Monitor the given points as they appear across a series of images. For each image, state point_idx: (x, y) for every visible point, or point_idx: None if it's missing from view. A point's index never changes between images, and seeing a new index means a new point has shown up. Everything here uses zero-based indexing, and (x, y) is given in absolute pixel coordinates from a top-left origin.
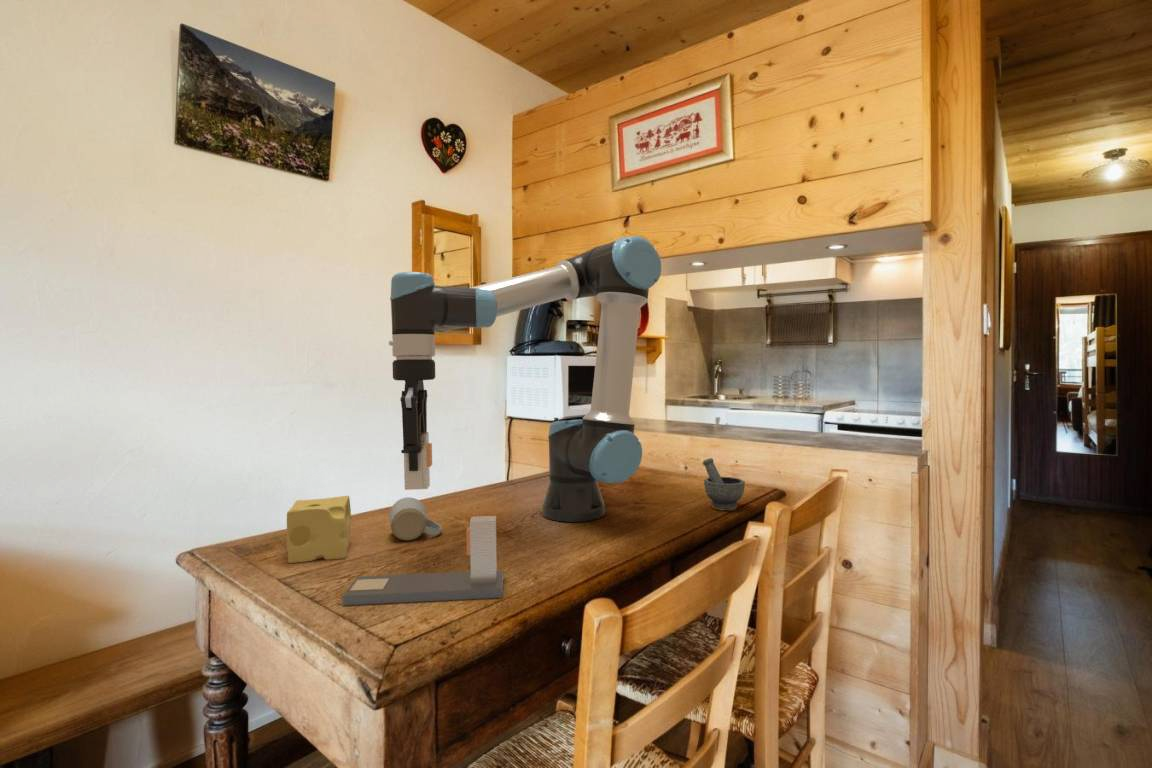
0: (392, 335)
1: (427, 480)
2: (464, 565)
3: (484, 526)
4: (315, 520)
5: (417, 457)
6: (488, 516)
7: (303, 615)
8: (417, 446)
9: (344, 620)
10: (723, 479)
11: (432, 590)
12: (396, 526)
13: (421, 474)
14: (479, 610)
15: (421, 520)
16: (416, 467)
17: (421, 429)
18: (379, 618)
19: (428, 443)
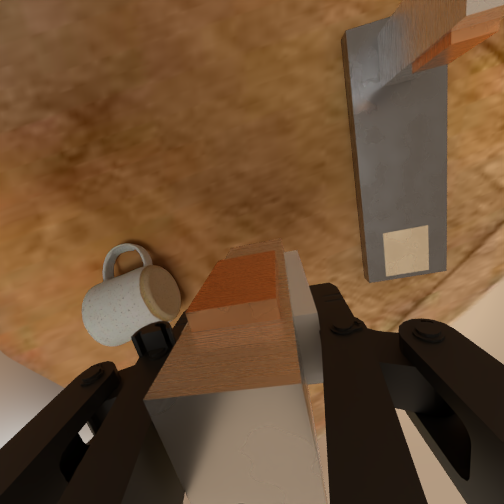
0: None
1: (273, 246)
2: (276, 144)
3: None
4: None
5: (328, 314)
6: None
7: (462, 298)
8: (464, 336)
9: (487, 242)
10: None
11: (442, 141)
12: (176, 307)
13: (301, 267)
14: (486, 40)
15: (151, 274)
16: (338, 290)
17: (140, 480)
18: (489, 198)
19: (205, 328)
